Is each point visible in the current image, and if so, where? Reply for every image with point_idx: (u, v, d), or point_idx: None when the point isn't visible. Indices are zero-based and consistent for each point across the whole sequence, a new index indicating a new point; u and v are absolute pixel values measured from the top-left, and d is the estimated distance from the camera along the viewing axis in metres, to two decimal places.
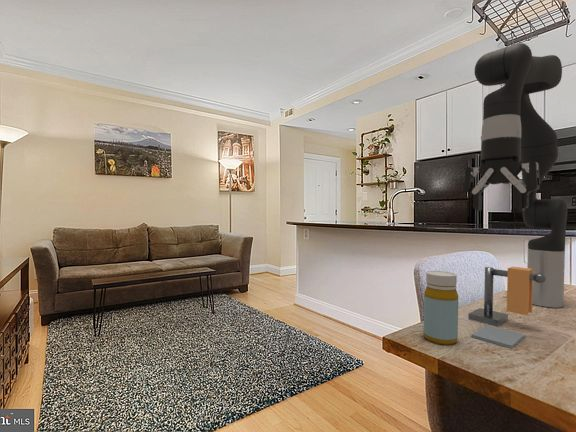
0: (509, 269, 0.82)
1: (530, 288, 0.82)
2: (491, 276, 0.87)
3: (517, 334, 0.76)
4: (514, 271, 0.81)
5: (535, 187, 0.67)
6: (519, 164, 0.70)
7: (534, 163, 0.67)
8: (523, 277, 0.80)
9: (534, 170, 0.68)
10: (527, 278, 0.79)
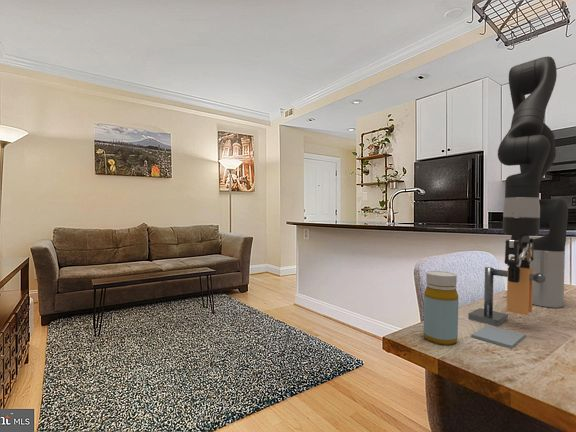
0: None
1: (530, 288, 0.82)
2: (491, 276, 0.87)
3: (517, 334, 0.76)
4: None
5: None
6: None
7: (533, 240, 0.85)
8: (523, 277, 0.80)
9: (533, 245, 0.85)
10: (527, 278, 0.79)
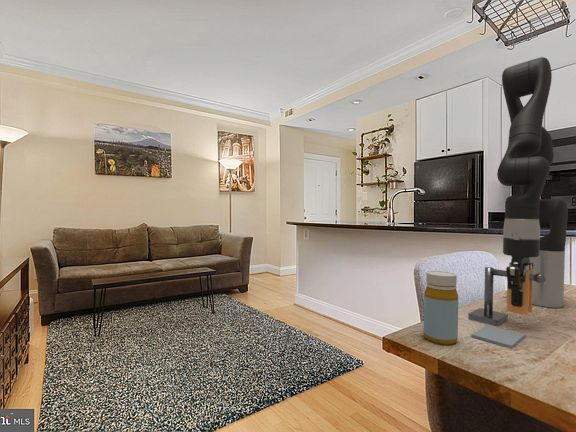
0: None
1: (530, 288, 0.82)
2: (491, 276, 0.87)
3: (517, 334, 0.76)
4: None
5: None
6: None
7: None
8: None
9: None
10: (527, 278, 0.79)
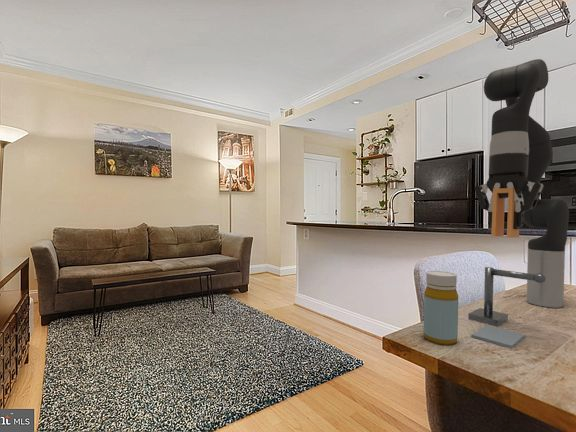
0: (513, 189, 0.72)
1: (504, 210, 0.77)
2: (491, 276, 0.87)
3: (517, 334, 0.76)
4: None
5: None
6: None
7: None
8: (518, 197, 0.74)
9: None
10: None
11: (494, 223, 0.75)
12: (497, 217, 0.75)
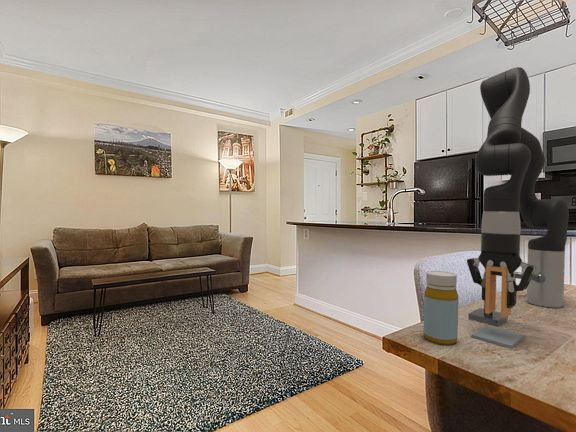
0: (506, 269, 0.72)
1: (495, 284, 0.77)
2: None
3: (517, 334, 0.76)
4: None
5: None
6: None
7: None
8: None
9: None
10: None
11: (488, 300, 0.75)
12: (490, 294, 0.75)
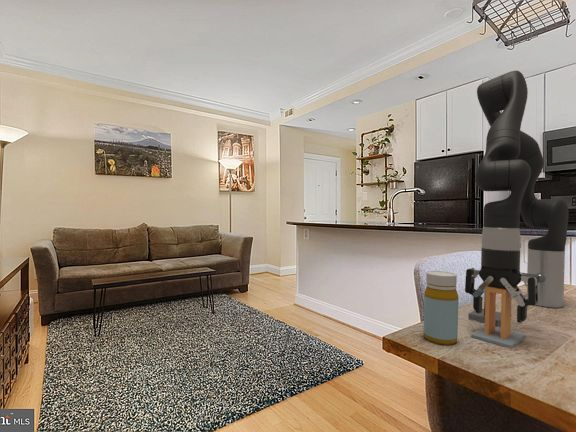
0: (506, 291, 0.73)
1: (495, 305, 0.78)
2: None
3: (517, 334, 0.76)
4: (507, 292, 0.73)
5: None
6: None
7: None
8: (510, 295, 0.75)
9: None
10: None
11: (487, 322, 0.75)
12: (490, 315, 0.75)
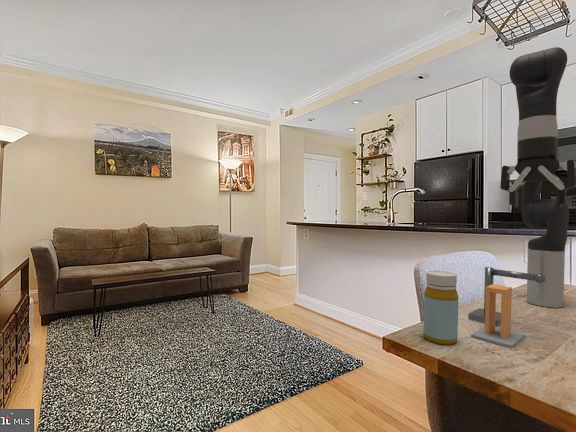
0: (506, 291, 0.73)
1: (495, 305, 0.78)
2: (491, 276, 0.87)
3: (517, 334, 0.76)
4: (507, 292, 0.73)
5: None
6: None
7: None
8: (510, 295, 0.75)
9: None
10: (511, 295, 0.75)
11: (487, 322, 0.75)
12: (490, 315, 0.75)
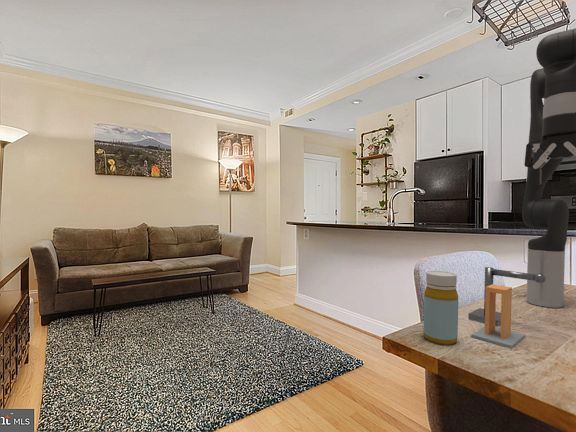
0: (506, 291, 0.73)
1: (495, 305, 0.78)
2: (491, 276, 0.87)
3: (517, 334, 0.76)
4: (507, 292, 0.73)
5: None
6: None
7: None
8: (510, 295, 0.75)
9: None
10: (511, 295, 0.75)
11: (487, 322, 0.75)
12: (490, 315, 0.75)
